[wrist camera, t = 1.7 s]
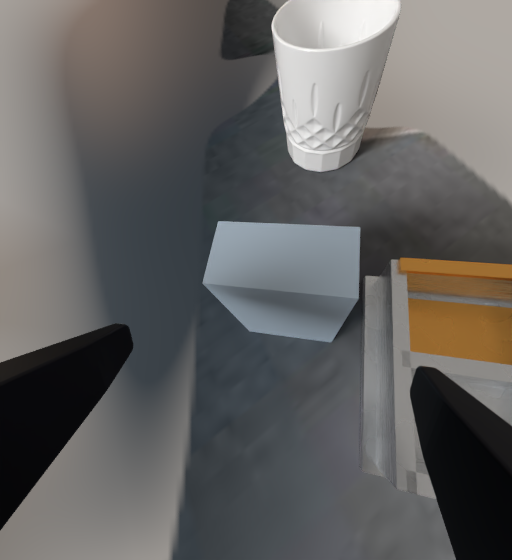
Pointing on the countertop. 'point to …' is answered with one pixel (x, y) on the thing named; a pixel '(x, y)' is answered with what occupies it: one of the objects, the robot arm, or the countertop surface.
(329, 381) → the countertop surface
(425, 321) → the rack
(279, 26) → the white cup
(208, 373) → the countertop surface
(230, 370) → the countertop surface
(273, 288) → the blue-grey rectangular block
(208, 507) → the countertop surface
